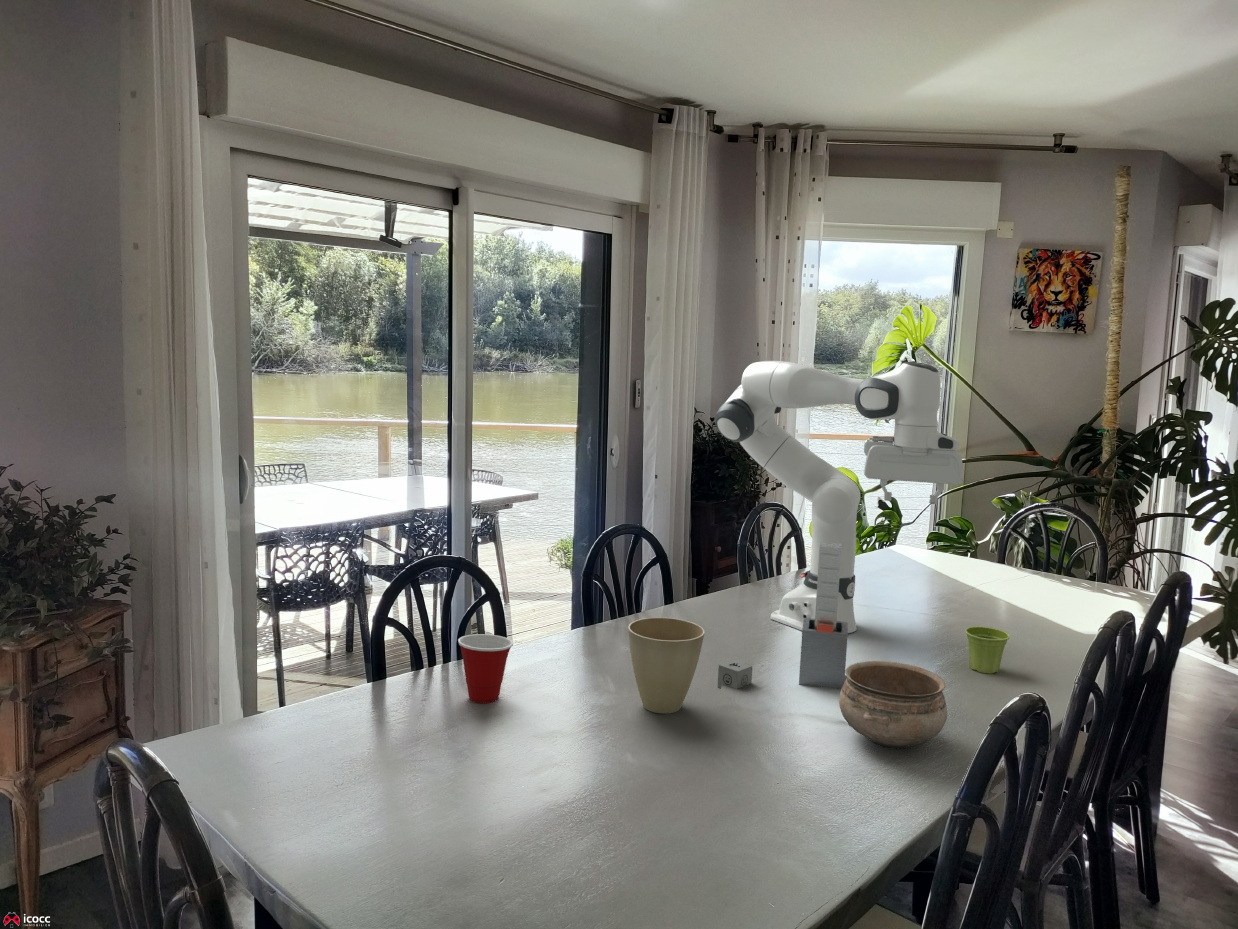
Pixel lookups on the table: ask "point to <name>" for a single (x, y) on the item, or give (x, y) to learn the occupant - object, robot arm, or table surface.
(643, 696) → the plant pot
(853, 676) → the cooking pot
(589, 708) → the table surface
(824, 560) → the column
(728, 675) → the dice cube
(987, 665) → the plant pot
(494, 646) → the plastic cup
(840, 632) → the sleeve
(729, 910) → the table surface
